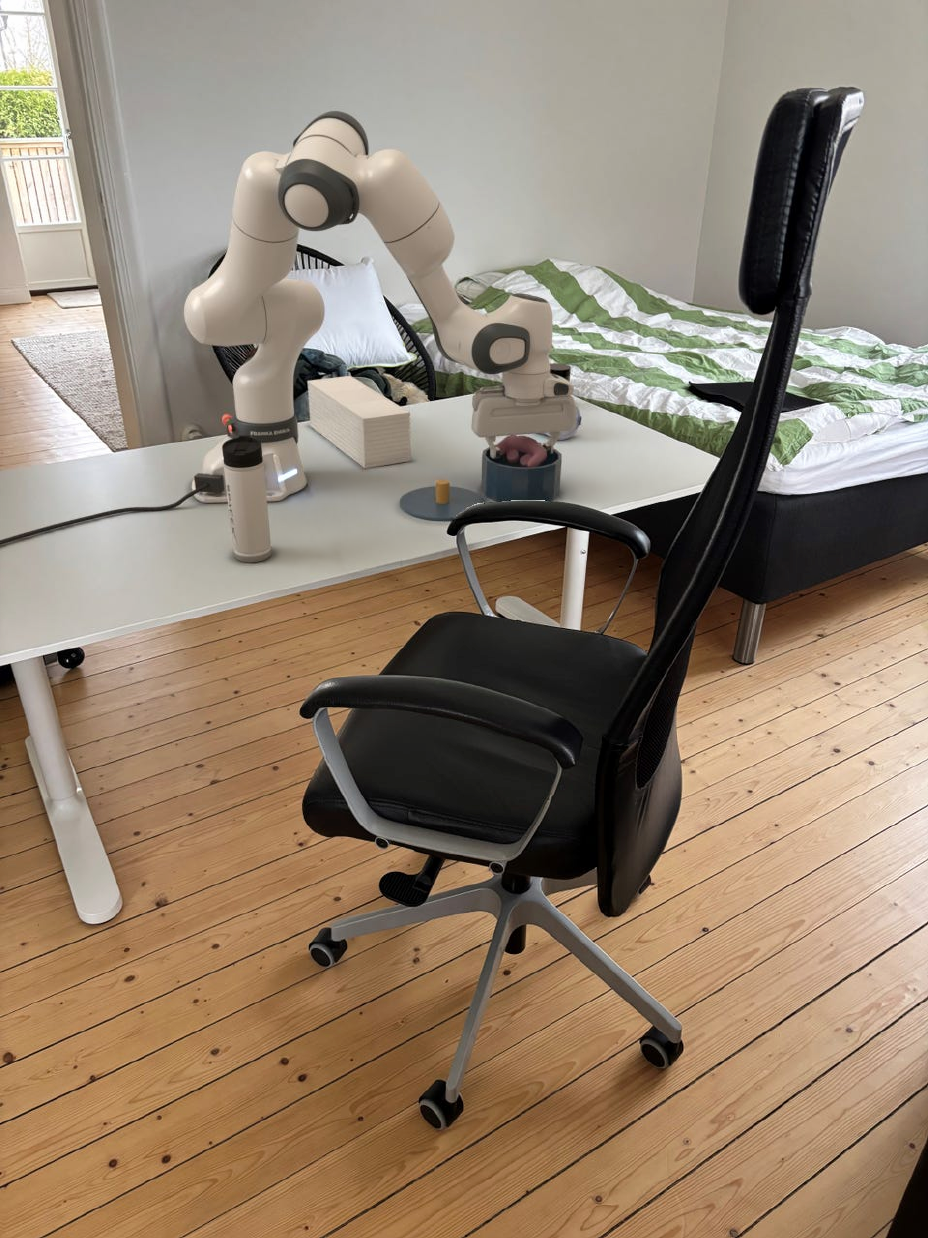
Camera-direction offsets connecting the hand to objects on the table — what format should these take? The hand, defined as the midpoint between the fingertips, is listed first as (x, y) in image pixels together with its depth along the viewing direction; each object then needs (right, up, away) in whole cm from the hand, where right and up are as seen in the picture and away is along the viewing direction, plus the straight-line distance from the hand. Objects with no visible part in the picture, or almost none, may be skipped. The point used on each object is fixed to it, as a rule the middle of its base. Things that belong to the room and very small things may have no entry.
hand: (522, 455), depth 181 cm
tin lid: (-15, -10, -3) cm, 19 cm away
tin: (0, -7, +4) cm, 8 cm away
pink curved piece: (-1, -2, +1) cm, 2 cm away
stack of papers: (-35, +8, +29) cm, 46 cm away
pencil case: (+6, +13, +40) cm, 42 cm away
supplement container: (+12, +22, +56) cm, 61 cm away
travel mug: (-47, -21, -23) cm, 56 cm away
